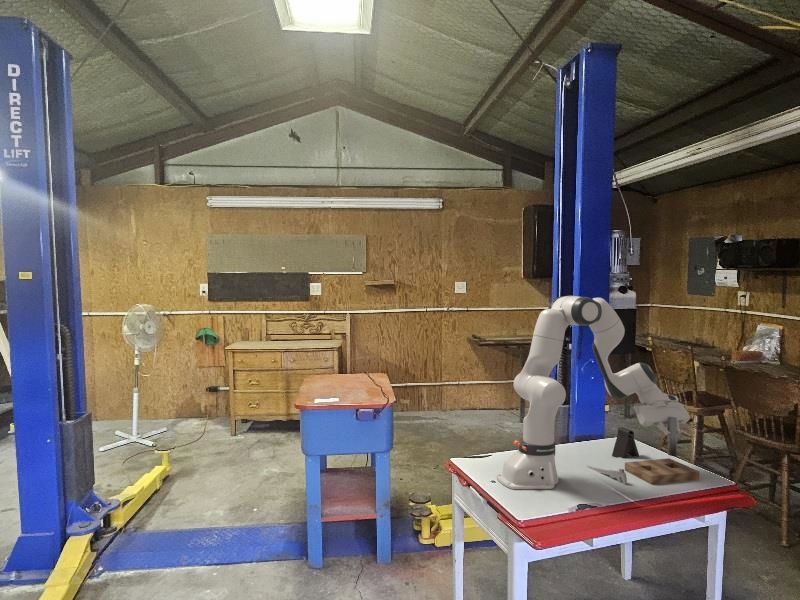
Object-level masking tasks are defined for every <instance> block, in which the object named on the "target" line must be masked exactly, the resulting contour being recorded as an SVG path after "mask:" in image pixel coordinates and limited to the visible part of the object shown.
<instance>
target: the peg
mask: <svg viewBox="0 0 800 600" xmlns="http://www.w3.org/2000/svg"><path fill="white" fill-rule="evenodd" d="M667 429H669V430H670V432H671V434H670V435H667V455H668V456H671V457H677V456H678V434H677V418H676V417H668V425H667Z"/></svg>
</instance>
